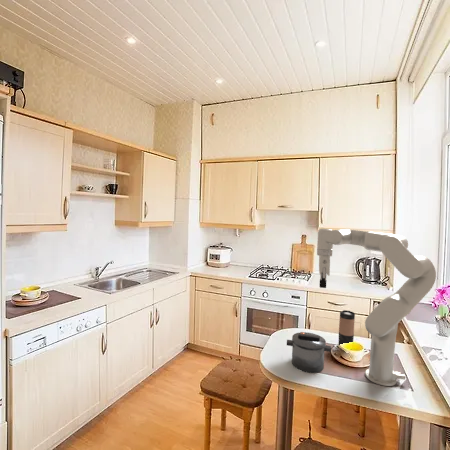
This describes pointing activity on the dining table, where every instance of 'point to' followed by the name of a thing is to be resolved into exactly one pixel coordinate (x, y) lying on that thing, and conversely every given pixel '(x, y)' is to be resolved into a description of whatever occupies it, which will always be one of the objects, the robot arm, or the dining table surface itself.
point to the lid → (308, 341)
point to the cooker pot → (308, 358)
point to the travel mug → (346, 326)
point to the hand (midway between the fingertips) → (322, 287)
